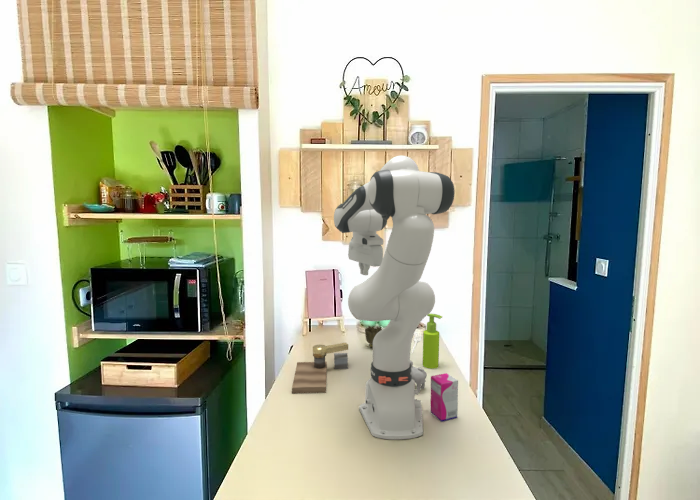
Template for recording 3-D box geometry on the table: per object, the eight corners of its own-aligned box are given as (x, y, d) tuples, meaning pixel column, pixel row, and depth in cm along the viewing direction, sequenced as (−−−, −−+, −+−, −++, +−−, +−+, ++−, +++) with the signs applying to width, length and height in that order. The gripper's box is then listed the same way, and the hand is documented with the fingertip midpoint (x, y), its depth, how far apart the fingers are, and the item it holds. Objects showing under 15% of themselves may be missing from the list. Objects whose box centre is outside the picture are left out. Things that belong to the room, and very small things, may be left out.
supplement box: (445, 408, 121) (447, 372, 119) (457, 418, 115) (459, 380, 114) (429, 412, 119) (430, 375, 117) (440, 422, 113) (442, 384, 112)
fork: (407, 354, 164) (407, 350, 163) (414, 337, 183) (415, 333, 182) (415, 355, 163) (415, 351, 163) (422, 337, 182) (422, 333, 181)
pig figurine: (394, 378, 141) (395, 349, 139) (428, 388, 133) (429, 357, 132) (387, 384, 137) (387, 354, 135) (421, 394, 129) (422, 363, 128)
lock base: (350, 392, 131) (349, 374, 130) (292, 393, 130) (291, 375, 129) (347, 363, 154) (347, 348, 153) (298, 363, 153) (297, 348, 152)
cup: (362, 349, 167) (362, 330, 166) (367, 342, 174) (367, 325, 173) (380, 351, 165) (380, 332, 164) (383, 344, 172) (384, 326, 171)
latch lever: (315, 358, 142) (315, 350, 142) (310, 353, 146) (310, 345, 146) (349, 352, 148) (349, 344, 147) (344, 347, 152) (344, 340, 152)
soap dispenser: (436, 370, 147) (438, 318, 144) (419, 366, 151) (421, 314, 148) (443, 365, 151) (445, 314, 149) (426, 361, 155) (428, 311, 153)
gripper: (344, 236, 157) (344, 270, 159) (370, 241, 139) (370, 280, 141) (358, 235, 160) (358, 269, 162) (386, 240, 142) (385, 278, 144)
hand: (364, 274), depth 151 cm, fingers closed
